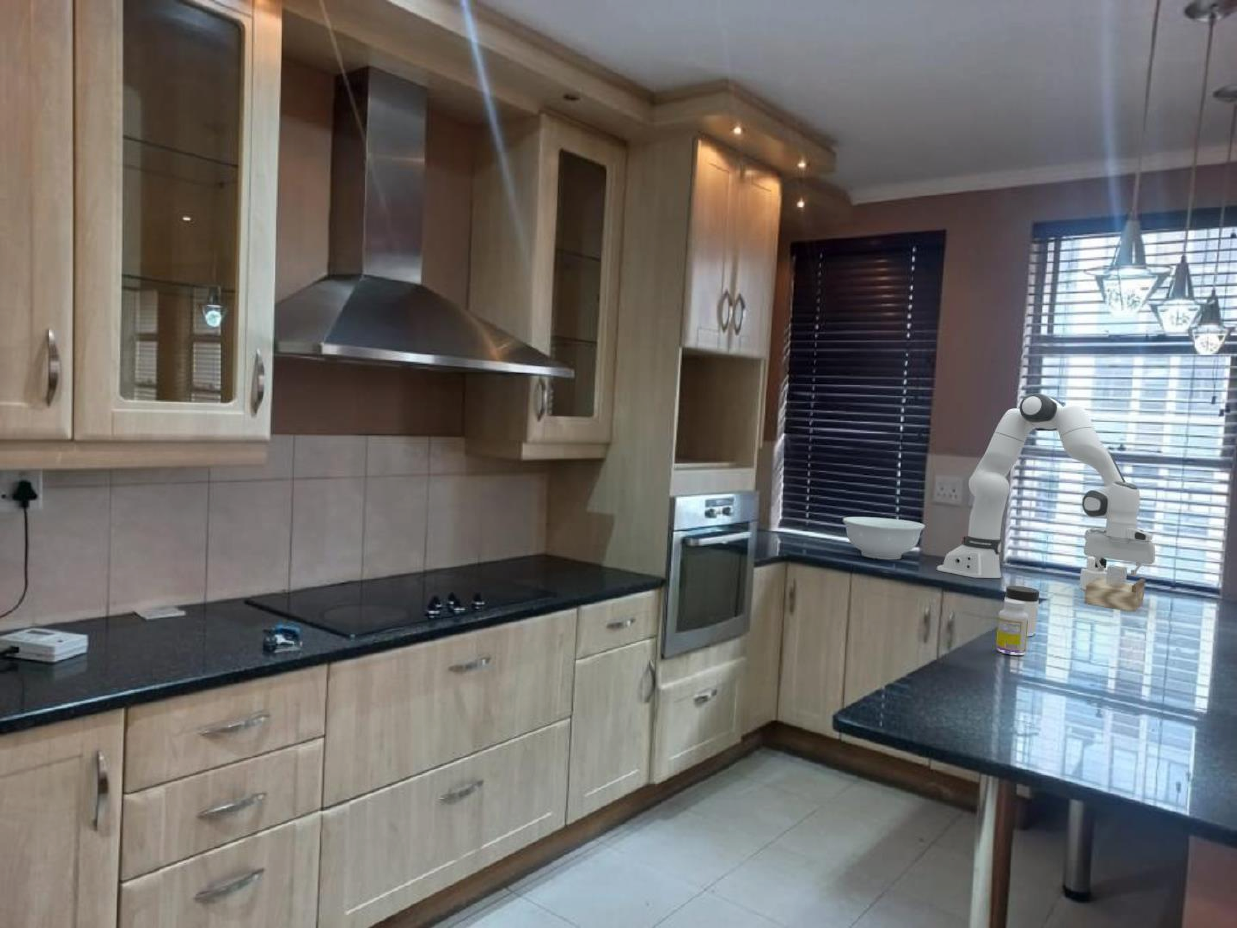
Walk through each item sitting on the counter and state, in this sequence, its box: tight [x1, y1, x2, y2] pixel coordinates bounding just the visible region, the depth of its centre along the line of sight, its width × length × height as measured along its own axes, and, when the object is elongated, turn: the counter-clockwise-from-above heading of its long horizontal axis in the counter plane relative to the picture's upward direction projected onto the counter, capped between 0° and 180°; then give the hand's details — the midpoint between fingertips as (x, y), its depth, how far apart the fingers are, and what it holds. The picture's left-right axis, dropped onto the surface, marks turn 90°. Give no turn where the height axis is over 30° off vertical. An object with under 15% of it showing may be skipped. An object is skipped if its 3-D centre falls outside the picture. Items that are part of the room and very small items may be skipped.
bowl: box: [842, 516, 926, 561], centre depth 350 cm, size 32×32×15 cm
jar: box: [1003, 585, 1040, 633], centre depth 231 cm, size 9×8×12 cm
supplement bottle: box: [995, 599, 1028, 653], centre depth 209 cm, size 7×7×13 cm
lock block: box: [1106, 564, 1128, 587], centre depth 281 cm, size 5×5×6 cm
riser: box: [1083, 578, 1146, 613], centre depth 281 cm, size 14×20×8 cm
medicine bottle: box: [1079, 556, 1108, 592], centre depth 301 cm, size 7×7×12 cm
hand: (1116, 573), depth 281 cm, fingers open, 8 cm apart
